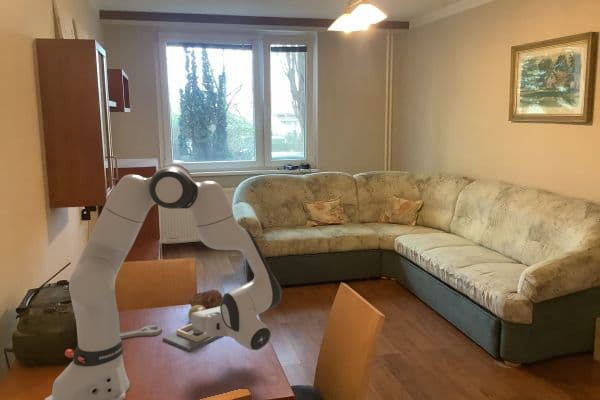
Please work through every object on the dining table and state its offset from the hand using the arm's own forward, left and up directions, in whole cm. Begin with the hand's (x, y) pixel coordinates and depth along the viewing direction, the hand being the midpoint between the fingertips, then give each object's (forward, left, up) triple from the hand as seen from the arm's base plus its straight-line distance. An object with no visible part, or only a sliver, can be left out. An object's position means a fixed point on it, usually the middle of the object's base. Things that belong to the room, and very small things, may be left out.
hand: (211, 306), depth 168 cm
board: (+4, +11, -15) cm, 19 cm away
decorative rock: (+18, +22, -15) cm, 32 cm away
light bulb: (+4, +11, -14) cm, 18 cm away
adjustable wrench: (-12, +32, -15) cm, 37 cm away
